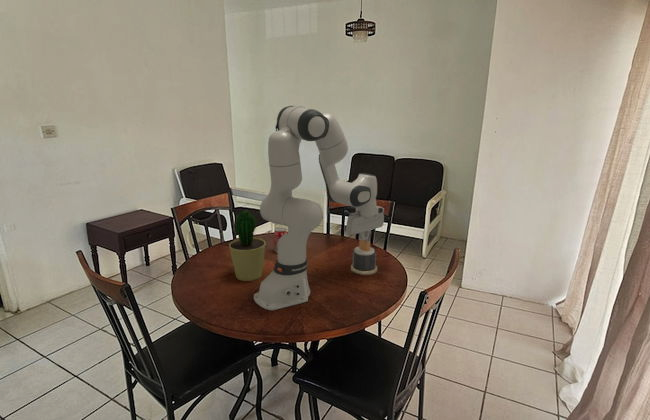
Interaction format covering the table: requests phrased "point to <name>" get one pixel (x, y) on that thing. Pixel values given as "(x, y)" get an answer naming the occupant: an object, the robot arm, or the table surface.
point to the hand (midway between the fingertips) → (364, 239)
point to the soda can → (278, 236)
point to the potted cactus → (247, 249)
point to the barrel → (364, 264)
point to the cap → (364, 248)
